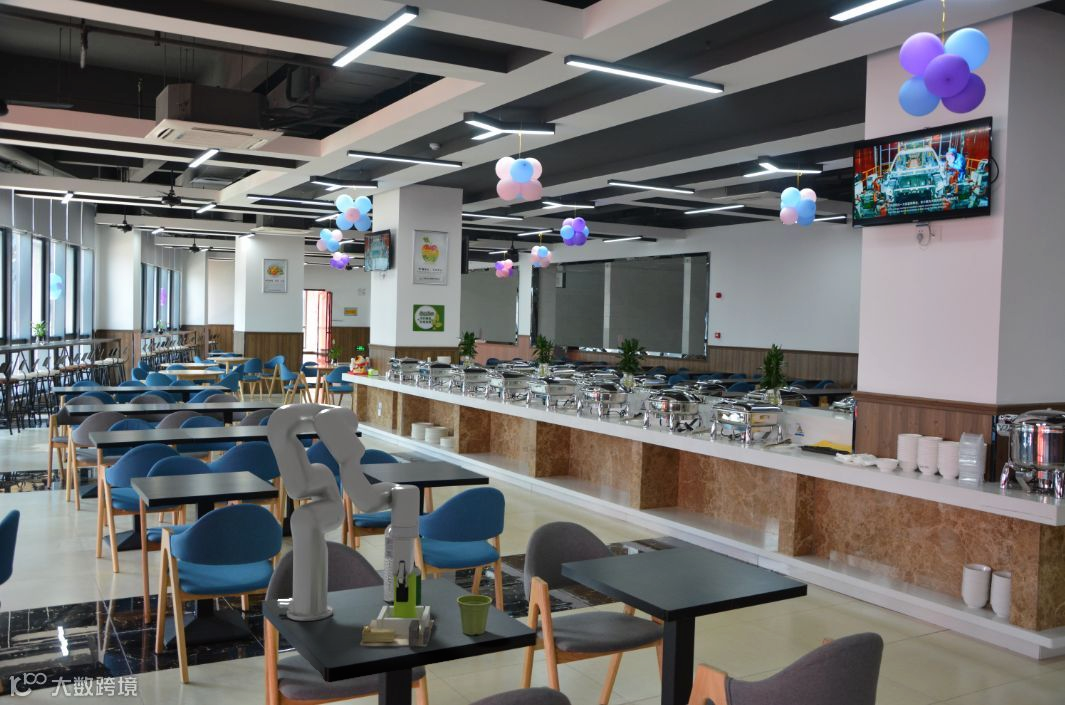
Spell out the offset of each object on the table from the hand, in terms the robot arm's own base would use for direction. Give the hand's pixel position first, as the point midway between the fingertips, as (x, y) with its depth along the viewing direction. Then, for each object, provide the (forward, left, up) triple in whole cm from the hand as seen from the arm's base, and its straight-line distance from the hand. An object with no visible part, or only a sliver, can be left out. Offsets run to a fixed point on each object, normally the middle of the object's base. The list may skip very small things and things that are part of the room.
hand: (403, 597), depth 228 cm
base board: (-1, -4, -9) cm, 9 cm away
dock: (0, 0, -9) cm, 9 cm away
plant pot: (+19, -2, -9) cm, 21 cm away
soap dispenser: (0, 0, -7) cm, 7 cm away
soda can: (-1, +18, -9) cm, 20 cm away
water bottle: (-6, +27, -9) cm, 29 cm away
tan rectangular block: (-5, -12, -8) cm, 15 cm away
